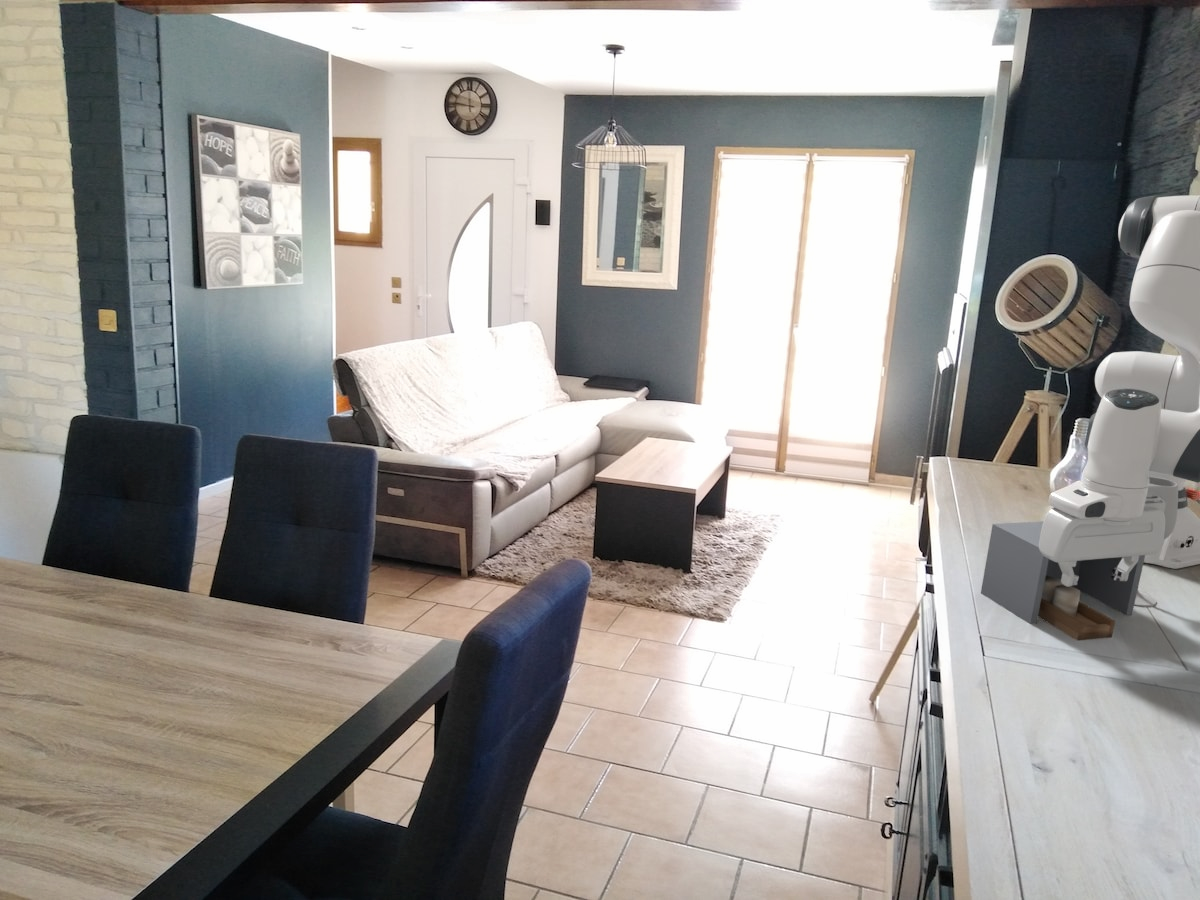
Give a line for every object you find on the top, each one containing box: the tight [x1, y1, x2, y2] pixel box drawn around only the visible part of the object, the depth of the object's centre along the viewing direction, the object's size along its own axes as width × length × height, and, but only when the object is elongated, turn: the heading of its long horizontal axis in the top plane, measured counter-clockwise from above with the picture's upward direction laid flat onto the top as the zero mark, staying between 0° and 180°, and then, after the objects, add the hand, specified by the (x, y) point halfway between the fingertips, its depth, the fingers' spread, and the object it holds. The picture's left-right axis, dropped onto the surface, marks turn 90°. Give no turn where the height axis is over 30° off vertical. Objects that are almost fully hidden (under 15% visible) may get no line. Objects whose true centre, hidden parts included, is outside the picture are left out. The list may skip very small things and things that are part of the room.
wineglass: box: [1134, 477, 1178, 608], centre depth 152 cm, size 8×8×21 cm
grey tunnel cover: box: [980, 520, 1145, 625], centre depth 149 cm, size 20×12×12 cm, turn 105°
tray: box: [1038, 576, 1116, 641], centre depth 144 cm, size 6×14×5 cm, turn 15°
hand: (1093, 582), depth 139 cm, fingers open, 8 cm apart
